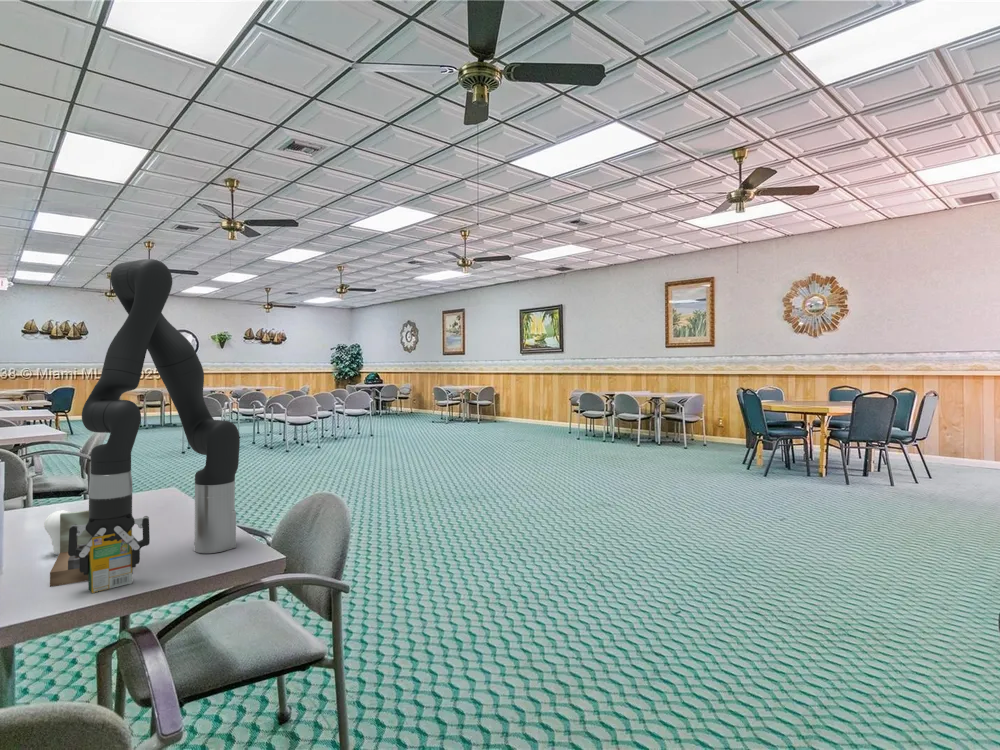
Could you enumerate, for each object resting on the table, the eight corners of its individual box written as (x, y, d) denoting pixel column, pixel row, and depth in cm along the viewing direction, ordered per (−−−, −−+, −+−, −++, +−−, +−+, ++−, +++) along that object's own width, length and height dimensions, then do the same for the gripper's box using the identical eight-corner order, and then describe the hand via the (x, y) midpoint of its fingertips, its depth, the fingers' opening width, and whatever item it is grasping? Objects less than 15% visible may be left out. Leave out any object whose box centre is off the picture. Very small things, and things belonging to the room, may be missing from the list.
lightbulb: (65, 549, 139) (66, 506, 139) (81, 552, 137) (81, 509, 137) (38, 557, 133) (38, 512, 133) (54, 560, 131) (54, 515, 131)
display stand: (131, 553, 136) (132, 505, 136) (129, 573, 123) (129, 521, 123) (60, 563, 129) (60, 513, 129) (49, 586, 115) (50, 530, 115)
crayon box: (128, 580, 120) (128, 527, 119) (132, 583, 118) (132, 530, 118) (87, 590, 114) (87, 534, 114) (91, 593, 112) (91, 537, 112)
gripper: (150, 486, 123) (150, 559, 123) (70, 493, 115) (70, 570, 115) (150, 493, 116) (150, 569, 116) (65, 501, 109) (65, 582, 109)
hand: (110, 570), depth 116 cm, fingers closed on crayon box, 8 cm apart
